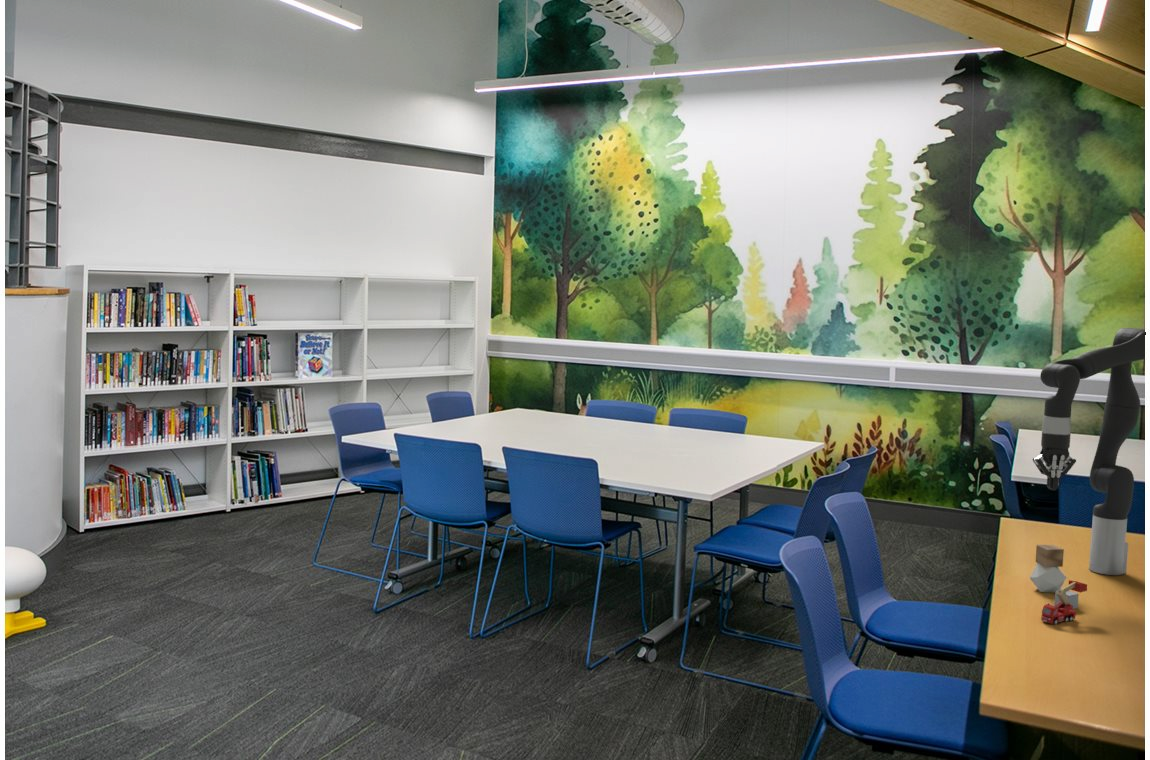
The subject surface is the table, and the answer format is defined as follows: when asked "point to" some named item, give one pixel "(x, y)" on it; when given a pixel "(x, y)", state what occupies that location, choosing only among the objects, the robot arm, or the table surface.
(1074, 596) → the slate block
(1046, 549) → the walnut block
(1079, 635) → the table surface
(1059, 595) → the toy fire truck
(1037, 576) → the die
